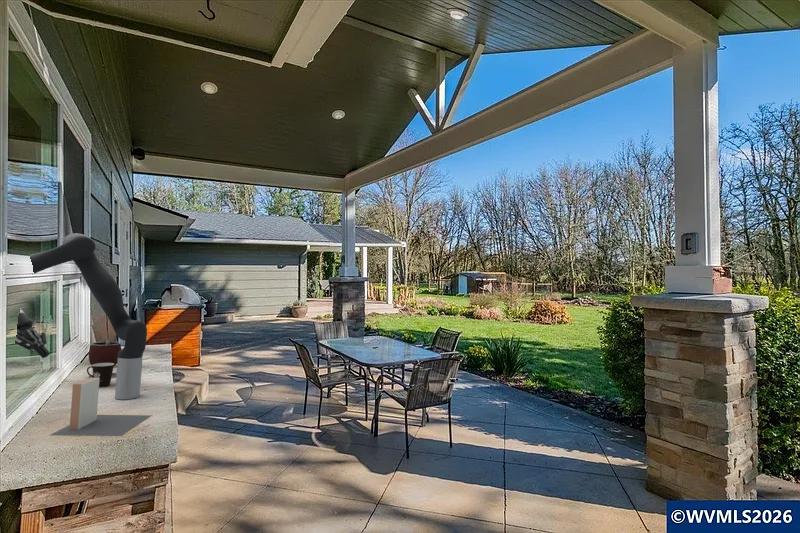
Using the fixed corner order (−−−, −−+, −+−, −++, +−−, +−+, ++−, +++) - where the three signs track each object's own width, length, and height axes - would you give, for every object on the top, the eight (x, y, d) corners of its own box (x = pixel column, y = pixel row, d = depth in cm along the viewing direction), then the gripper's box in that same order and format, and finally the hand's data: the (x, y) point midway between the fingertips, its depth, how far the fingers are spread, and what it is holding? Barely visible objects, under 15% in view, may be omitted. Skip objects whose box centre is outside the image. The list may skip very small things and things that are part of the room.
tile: (87, 419, 156) (90, 377, 156) (96, 419, 156) (99, 377, 157) (69, 429, 146) (72, 384, 147) (79, 429, 146) (82, 384, 147)
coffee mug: (116, 385, 207) (117, 364, 207) (96, 388, 199) (97, 367, 200) (103, 382, 212) (105, 361, 213) (83, 385, 205) (85, 363, 206)
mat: (90, 416, 161) (90, 414, 162) (152, 416, 164) (152, 415, 164) (48, 436, 140) (49, 435, 140) (121, 437, 142) (121, 435, 142)
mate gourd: (84, 375, 224) (87, 336, 224) (116, 372, 233) (118, 335, 234) (90, 381, 212) (93, 340, 213) (123, 378, 222) (126, 338, 223)
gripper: (6, 312, 145) (42, 351, 145) (35, 311, 158) (68, 346, 158) (-13, 328, 144) (23, 366, 144) (17, 325, 157) (50, 360, 157)
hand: (46, 356), depth 151 cm, fingers closed
